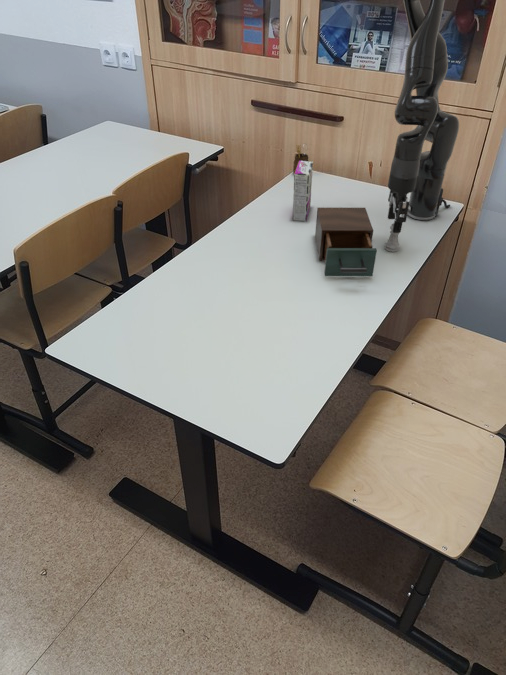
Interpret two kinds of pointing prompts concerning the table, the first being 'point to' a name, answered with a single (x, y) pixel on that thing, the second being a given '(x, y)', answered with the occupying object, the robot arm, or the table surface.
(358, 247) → the drawer
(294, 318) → the table surface
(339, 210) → the cabinet
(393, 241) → the rook chess piece
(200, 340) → the table surface
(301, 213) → the candy bar box
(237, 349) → the table surface
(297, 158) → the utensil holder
